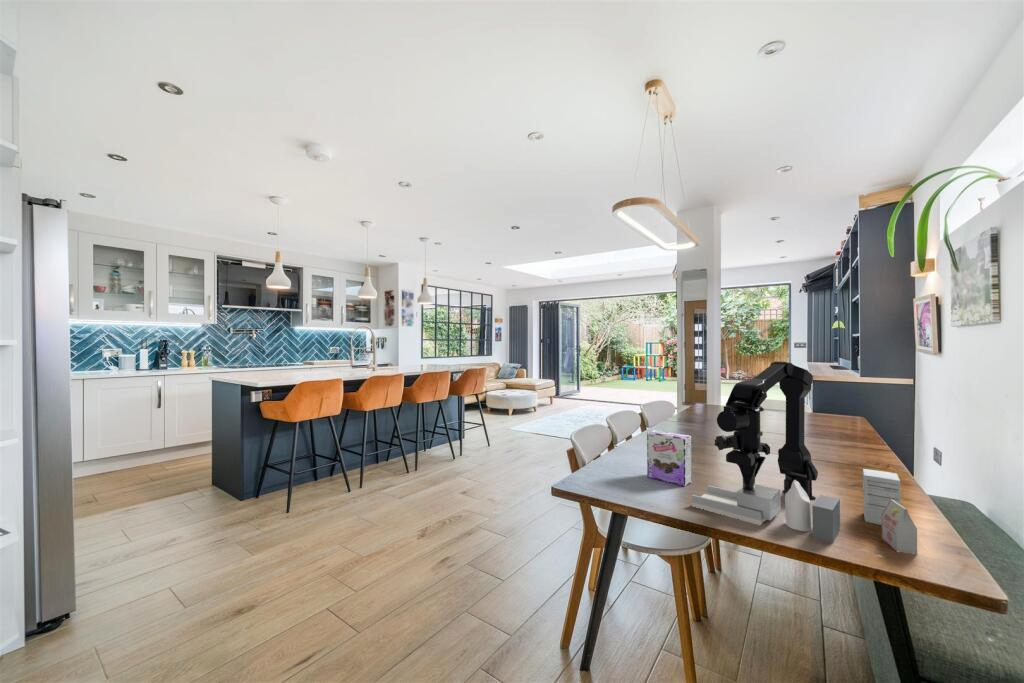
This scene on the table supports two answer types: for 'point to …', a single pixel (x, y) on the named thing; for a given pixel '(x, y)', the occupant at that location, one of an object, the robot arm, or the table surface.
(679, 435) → the candy box
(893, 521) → the gable top carton
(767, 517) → the block
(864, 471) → the supplement box
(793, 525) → the white pouch
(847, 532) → the table surface
